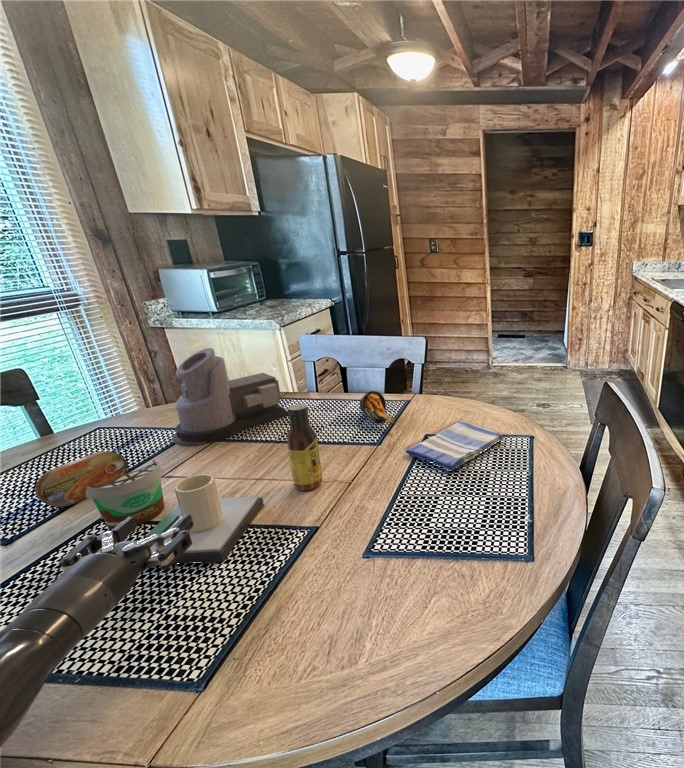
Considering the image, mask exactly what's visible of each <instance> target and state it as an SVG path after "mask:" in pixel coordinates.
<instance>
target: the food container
mask: <svg viewBox="0 0 684 768" xmlns="http://www.w3.org/2000/svg"><path fill="white" fill-rule="evenodd" d="M163 475H164V469H163V468H162V466H161V464H160V463H159V462H158V461H157V460H155V459H152V463H151V464H148V465H146V466H144V467H142V468H140V469H137V470H133V471H130V472H126V474H124V475H121V476H119V477H118V478H116V479H114V480H112V481H110V482H108V483H106V484H104V485H102V486H100V487H97V488H90V487H87V490H86V499H90V500H92V501H93V503H94V505H95V506H96V508H97V510H98V512H99V514H100V515H101V517H102V519H103V521H104V524H105V525H106V527H107V528H108V529H111V530H112V529H113V528H115V527H116V526H117V525H118V524H119V523H121V522H122V521H124V520H125V519H127V518H128V517H134V518H135V521H136V524H137V526H140V525H143V524H145V523H147V522H150V521H151V520H154V519H155V518H156V517H158V516H159V515H160V514H161V513H162V512H163V511H164V510H165V500H164V495H163V493H164V492H163V486H162V481H161V479H162V478H161V477H162V476H163Z"/></svg>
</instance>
